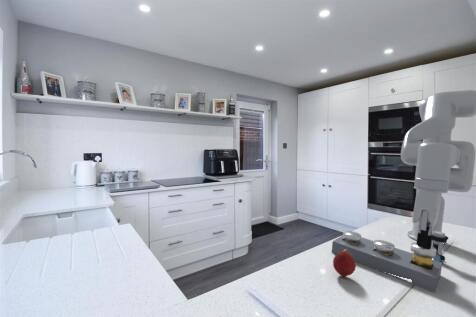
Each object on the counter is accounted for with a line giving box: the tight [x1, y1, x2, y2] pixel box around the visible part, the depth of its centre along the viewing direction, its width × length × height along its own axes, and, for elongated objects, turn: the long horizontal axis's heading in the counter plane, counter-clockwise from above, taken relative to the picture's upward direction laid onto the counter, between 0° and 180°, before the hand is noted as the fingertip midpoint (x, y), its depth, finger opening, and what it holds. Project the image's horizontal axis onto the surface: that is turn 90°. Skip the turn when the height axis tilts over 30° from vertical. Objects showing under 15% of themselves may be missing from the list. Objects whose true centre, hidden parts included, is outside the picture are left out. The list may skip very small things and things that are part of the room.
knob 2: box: [410, 241, 437, 270], centre depth 68 cm, size 6×6×6 cm
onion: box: [332, 249, 356, 278], centre depth 66 cm, size 6×6×8 cm
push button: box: [431, 231, 449, 266], centre depth 78 cm, size 7×5×10 cm
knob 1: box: [342, 230, 362, 245], centre depth 83 cm, size 6×6×6 cm
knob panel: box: [331, 235, 443, 293], centre depth 76 cm, size 13×28×4 cm, turn 43°
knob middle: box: [373, 239, 396, 256], centre depth 76 cm, size 6×6×6 cm
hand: (423, 246), depth 68 cm, fingers closed
